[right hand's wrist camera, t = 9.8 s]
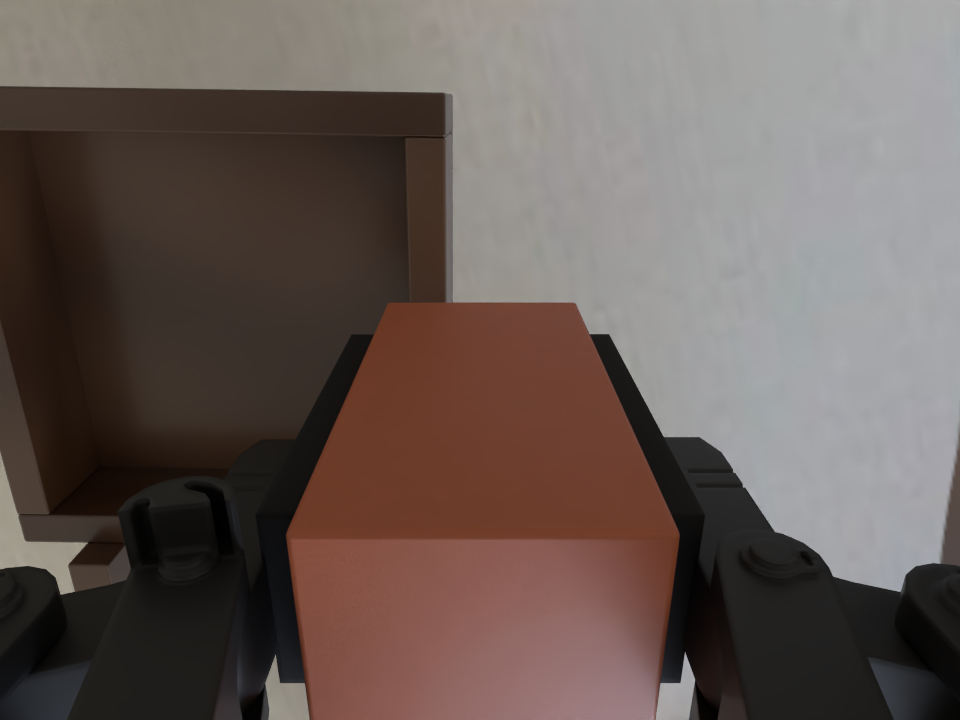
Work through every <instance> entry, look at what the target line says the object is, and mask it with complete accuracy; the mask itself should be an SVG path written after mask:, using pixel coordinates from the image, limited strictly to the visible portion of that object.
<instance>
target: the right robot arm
mask: <svg viewBox="0 0 960 720" xmlns="http://www.w3.org/2000/svg"><path fill="white" fill-rule="evenodd" d="M373 336H374V334H351V336H350V338H349V340H348V342H347V344H346V346H345V348H344V349H343V351H342V353H341V355H340V357H339V359H338V361H337V363H336V364H335V366H334V368H333V370H332V372H331V374H330V376H329V378H328V379H327V381H326V383H325V385H324V387H323V389H322V391H321V393H320V395H319V396H318V398H317V400H316V402H315V404H314V406H313V408H312V410H311V411H310V413H309V415H308V417H307V419H306V421H305V423H304V425H303V426H302V428H301V430H300V432H299V434H298V436H297V438H296V439H261V440H260V441H258V442H257V443H255V444H254V445H253V446H251V447H250V448H248V449H247V450H245V451H244V452H242V453H241V454H239V456H238V457H237V459H236V460H235V462H234V463H233V465H232V466H231V468H230V469H229V471H228V475H226V476H225V477H224V479H223V480H222V479H218V478H214V477H210V476H187V477H181V478H176V479H171V480H166V481H163V482H161V483H158V484H155V485H153V486H150V487H147V488H145V489H143V490H142V491H140V492H139V493H137V494H135V495H134V496H132V497H131V498H129V499H128V500H127V501H126V502H125V503H124V504H123V505H122V507H121V508H120V509H119V510H118V511H117V513H118V517H119V521H120V526H121V530H122V534H123V538H124V542H125V546H126V551H127V555H128V559H129V563H130V567H131V570H130V572H129V575H128V577H127V579H126V580H124V581H121V582H117V583H113V584H110V585H106V586H101V587H96V588H91V589H87V590H82V591H77V592H72V593H67V594H63V595H60V591H59V588H58V585H57V581H56V578H55V577H54V576H53V575H52V574H51V573H49V572H48V571H47V570H46V569H41V568H36V567H30V566H24V567H14V568H5V569H1V570H0V720H268V717H269V705H268V698H267V692H266V686H265V682H266V679H267V676H268V674H269V671H270V668H271V665H272V663H273V660H274V657H275V654H276V658H277V665H278V672H279V678H280V683H305V679H304V671H303V663H302V656H301V648H300V640H299V632H298V625H297V617H296V609H295V601H294V594H293V586H292V578H291V571H290V563H289V555H288V547H287V540H286V533H287V531H288V528H289V526H290V524H291V521H292V519H293V517H294V515H295V512H296V510H297V508H298V506H299V503H300V501H301V499H302V496H303V494H304V492H305V490H306V487H307V485H308V483H309V481H310V478H311V476H312V474H313V472H314V469H315V467H316V465H317V463H318V460H319V458H320V456H321V454H322V451H323V449H324V447H325V444H326V442H327V440H328V438H329V435H330V433H331V431H332V429H333V426H334V424H335V422H336V420H337V417H338V415H339V413H340V411H341V408H342V406H343V404H344V402H345V399H346V397H347V395H348V392H349V390H350V388H351V386H352V383H353V381H354V379H355V377H356V374H357V372H358V370H359V368H360V365H361V363H362V361H363V359H364V356H365V354H366V352H367V350H368V347H369V345H370V343H371V340H372V338H373ZM590 337H591V339H592V341H593V343H594V345H595V348H596V350H597V352H598V354H599V356H600V359H601V361H602V363H603V365H604V367H605V370H606V372H607V374H608V376H609V379H610V381H611V383H612V385H613V387H614V390H615V392H616V394H617V396H618V398H619V401H620V403H621V405H622V407H623V409H624V412H625V414H626V416H627V418H628V421H629V423H630V425H631V427H632V429H633V432H634V434H635V436H636V438H637V440H638V443H639V445H640V447H641V449H642V451H643V454H644V456H645V458H646V460H647V462H648V465H649V467H650V469H651V471H652V474H653V476H654V478H655V480H656V482H657V485H658V487H659V489H660V491H661V493H662V496H663V498H664V500H665V502H666V504H667V507H668V509H669V511H670V513H671V515H672V518H673V520H674V522H675V524H676V527H677V529H678V531H679V534H680V538H679V546H678V553H677V561H676V568H675V576H674V583H673V591H672V598H671V606H670V613H669V621H668V628H667V636H666V643H665V651H664V658H663V666H662V673H661V681H660V683H680V682H681V675H682V668H683V661H684V655H685V653H686V655H687V658H688V661H689V663H690V666H691V669H692V672H693V674H694V677H695V686H694V692H693V698H692V705H691V711H690V717H689V720H960V566H956V565H946V564H936V563H932V564H927V565H921V566H916V567H915V568H913V569H912V570H911V571H910V572H909V573H907V574H906V576H905V580H904V583H903V587H902V590H901V592H897V591H892V590H888V589H883V588H878V587H873V586H869V585H864V584H859V583H854V582H850V581H847V580H843V579H839V578H836V577H833V576H832V573H831V571H830V569H829V567H828V566H827V564H826V563H825V562H824V560H823V559H822V558H821V556H820V555H819V554H818V553H816V552H815V551H814V550H812V549H811V548H809V547H808V546H807V545H805V544H804V543H802V542H800V541H798V540H795V539H793V538H791V537H789V536H786V535H784V534H780V533H776V532H774V530H773V529H772V527H771V526H770V524H769V523H768V521H767V520H766V518H765V517H764V515H763V514H762V512H761V511H760V509H759V508H758V506H757V505H756V503H755V502H754V500H753V499H752V497H751V496H750V494H749V493H748V491H747V490H746V488H743V484H742V482H741V481H740V479H739V478H738V476H737V475H736V473H733V469H732V467H731V466H730V464H729V463H728V461H727V460H726V459H725V457H724V456H723V454H722V453H721V452H720V451H719V450H717V449H716V448H714V447H713V446H711V445H710V444H708V443H707V442H705V441H704V440H703V439H701V438H700V437H663V435H662V433H661V431H660V429H659V427H658V425H657V424H656V422H655V420H654V418H653V416H652V414H651V412H650V410H649V409H648V407H647V405H646V403H645V401H644V399H643V397H642V395H641V394H640V392H639V390H638V388H637V386H636V384H635V382H634V380H633V379H632V377H631V375H630V373H629V371H628V369H627V367H626V365H625V364H624V362H623V360H622V358H621V356H620V354H619V352H618V350H617V349H616V347H615V345H614V343H613V341H612V339H611V337H610V335H609V334H590Z"/></svg>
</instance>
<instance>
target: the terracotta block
mask: <svg viewBox="0 0 960 720" xmlns="http://www.w3.org/2000/svg"><path fill="white" fill-rule="evenodd" d="M679 538H680V534H679V531H678V529H677V527H676V524H675V522H674V520H673V518H672V515H671V513H670V511H669V509H668V507H667V504H666V502H665V500H664V498H663V496H662V493H661V491H660V489H659V487H658V485H657V482H656V480H655V478H654V476H653V474H652V471H651V469H650V467H649V465H648V462H647V460H646V458H645V456H644V454H643V451H642V449H641V447H640V445H639V443H638V440H637V438H636V436H635V434H634V432H633V429H632V427H631V425H630V423H629V421H628V418H627V416H626V414H625V412H624V409H623V407H622V405H621V403H620V401H619V398H618V396H617V394H616V392H615V390H614V387H613V385H612V383H611V381H610V379H609V376H608V374H607V372H606V370H605V367H604V365H603V363H602V361H601V359H600V356H599V354H598V352H597V350H596V348H595V345H594V343H593V341H592V339H591V337H590V334H589V332H588V330H587V328H586V326H585V323H584V321H583V319H582V317H581V314H580V312H579V310H578V308H577V306H576V304H575V303H389V304H387V307H386V309H385V311H384V313H383V316H382V318H381V320H380V322H379V325H378V327H377V329H376V331H375V334H374V336H373V338H372V340H371V343H370V345H369V347H368V350H367V352H366V354H365V356H364V359H363V361H362V363H361V365H360V368H359V370H358V372H357V374H356V377H355V379H354V381H353V383H352V386H351V388H350V390H349V392H348V395H347V397H346V399H345V402H344V404H343V406H342V408H341V411H340V413H339V415H338V417H337V420H336V422H335V424H334V426H333V429H332V431H331V433H330V435H329V438H328V440H327V442H326V444H325V447H324V449H323V451H322V454H321V456H320V458H319V460H318V463H317V465H316V467H315V469H314V472H313V474H312V476H311V478H310V481H309V483H308V485H307V487H306V490H305V492H304V494H303V496H302V499H301V501H300V503H299V506H298V508H297V510H296V512H295V515H294V517H293V519H292V521H291V524H290V526H289V528H288V531H287V533H286V540H287V547H288V555H289V563H290V571H291V578H292V586H293V594H294V601H295V609H296V617H297V625H298V632H299V640H300V648H301V656H302V663H303V671H304V679H305V686H306V694H307V702H308V710H309V717H310V720H655V719H656V711H657V704H658V696H659V689H660V681H661V673H662V666H663V658H664V651H665V643H666V636H667V628H668V621H669V613H670V606H671V598H672V591H673V583H674V576H675V568H676V561H677V553H678V546H679Z"/></svg>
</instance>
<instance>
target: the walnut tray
mask: <svg viewBox="0 0 960 720" xmlns="http://www.w3.org/2000/svg"><path fill="white" fill-rule="evenodd" d="M389 303H453V109H452V95H451V94H446V93H426V92H358V91H290V90H222V89H154V88H86V87H18V86H0V453H1V456H2V460H3V463H4V467H5V471H6V474H7V478H8V481H9V485H10V489H11V492H12V496H13V500H14V503H15V507H16V510H17V513H18V514H19V520H20V524H21V528H22V531H23V535H24V539H25V541H27V542H85V543H87V545H86V546H85V547H84V548H83V549H82V550H81V551H80V552H79V553H78V555H77V556H76V557H75V558H74V559H73V560H72V561H71V562H70V563H69V566H68V567H69V571H70V575H71V578H72V582H73V586H74V590H75V592H77V591H82V590H87V589H91V588H96V587H101V586H106V585H110V584H113V583H117V582H121V581H124V580H126V579H127V577H128V575H129V572H130V570H131V567H130V563H129V559H128V555H127V551H126V546H125V542H124V538H123V534H122V530H121V526H120V521H119V517H118V513H117V511H118V510H119V509H120V508H121V507H122V505H123V504H124V503H125V502H126V501H127V500H128V499H129V498H131V497H132V496H134V495H135V494H137V493H139V492H140V491H142V490H143V489H145V488H147V487H150V486H153V485H155V484H158V483H161V482H163V481H166V480H171V479H176V478H181V477H187V476H210V477H214V478H218V479H222V480H223V479H224V477H225V476H226V475H228V471H229V469H230V468H231V466H232V465H233V463H234V462H235V460H236V459H237V457H238V456H239V454H241V453H242V452H244V451H245V450H247V449H248V448H250V447H251V446H253V445H254V444H255V443H257V442H258V441H260V440H261V439H296V438H297V436H298V434H299V432H300V430H301V428H302V426H303V425H304V423H305V421H306V419H307V417H308V415H309V413H310V411H311V410H312V408H313V406H314V404H315V402H316V400H317V398H318V396H319V395H320V393H321V391H322V389H323V387H324V385H325V383H326V381H327V379H328V378H329V376H330V374H331V372H332V370H333V368H334V366H335V364H336V363H337V361H338V359H339V357H340V355H341V353H342V351H343V349H344V348H345V346H346V344H347V342H348V340H349V338H350V336H351V334H375V331H376V329H377V327H378V325H379V322H380V320H381V318H382V316H383V313H384V311H385V309H386V307H387V304H389Z"/></svg>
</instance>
